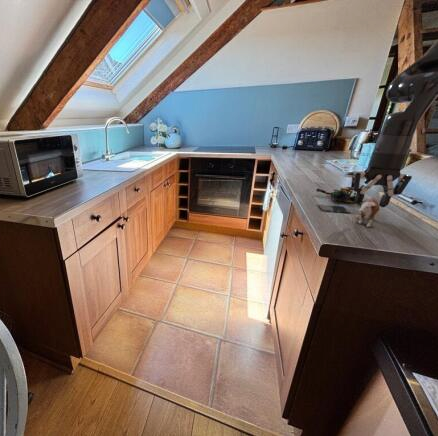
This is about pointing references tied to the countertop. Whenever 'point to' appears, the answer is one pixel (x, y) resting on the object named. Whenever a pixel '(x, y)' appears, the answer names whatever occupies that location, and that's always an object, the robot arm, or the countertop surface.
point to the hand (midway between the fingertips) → (369, 205)
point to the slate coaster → (333, 208)
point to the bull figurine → (368, 210)
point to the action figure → (341, 194)
